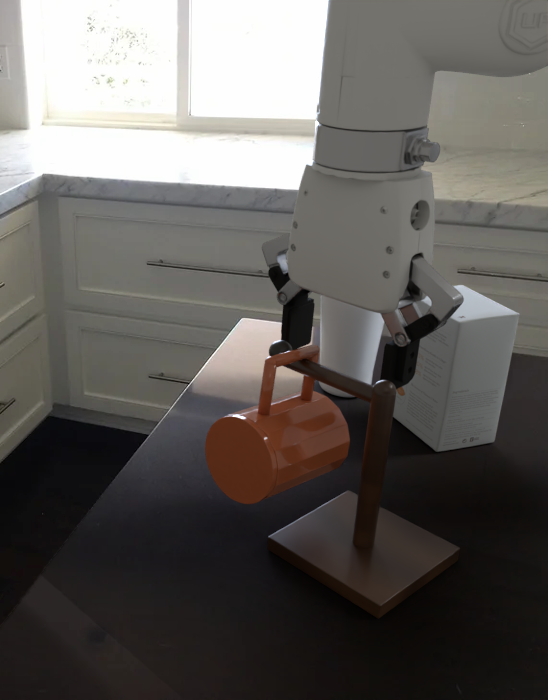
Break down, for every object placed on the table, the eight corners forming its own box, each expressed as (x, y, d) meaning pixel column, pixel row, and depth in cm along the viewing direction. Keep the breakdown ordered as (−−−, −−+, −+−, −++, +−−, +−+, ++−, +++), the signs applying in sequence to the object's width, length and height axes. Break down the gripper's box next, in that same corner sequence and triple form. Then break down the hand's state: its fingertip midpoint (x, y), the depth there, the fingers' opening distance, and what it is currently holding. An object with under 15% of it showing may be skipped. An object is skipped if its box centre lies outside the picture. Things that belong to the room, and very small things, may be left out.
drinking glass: (310, 399, 89) (324, 260, 83) (310, 371, 95) (323, 239, 89) (379, 405, 87) (399, 264, 81) (375, 376, 93) (393, 243, 87)
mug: (200, 480, 68) (275, 452, 73) (266, 520, 63) (341, 486, 68) (216, 347, 64) (295, 327, 69) (288, 378, 59) (366, 354, 64)
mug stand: (298, 476, 76) (313, 320, 70) (458, 560, 65) (493, 384, 59) (218, 519, 70) (227, 353, 64) (378, 619, 60) (407, 432, 53)
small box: (495, 443, 80) (523, 313, 75) (435, 453, 79) (458, 321, 73) (441, 404, 87) (463, 282, 82) (385, 412, 86) (403, 289, 81)
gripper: (513, 159, 57) (470, 390, 65) (304, 126, 70) (288, 322, 77) (450, 177, 53) (412, 422, 60) (240, 138, 66) (229, 345, 73)
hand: (342, 366), depth 69 cm, fingers open, 9 cm apart
